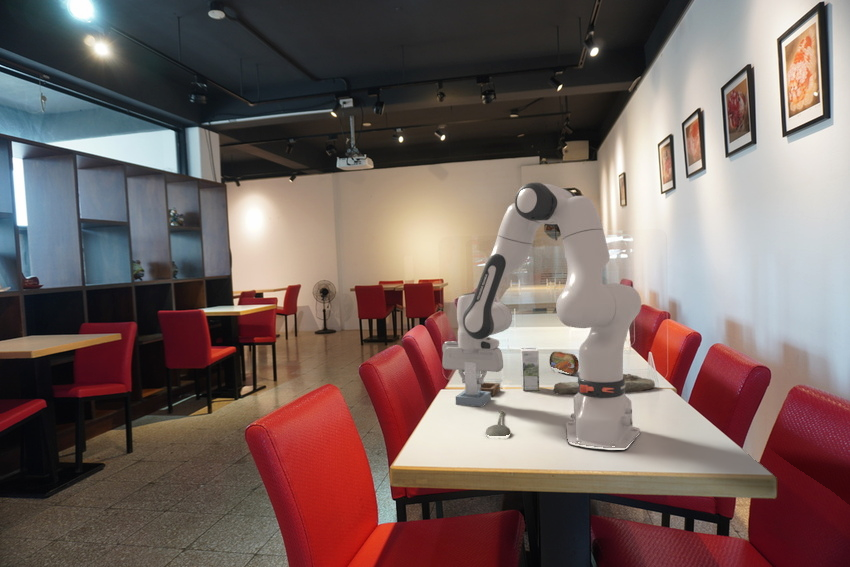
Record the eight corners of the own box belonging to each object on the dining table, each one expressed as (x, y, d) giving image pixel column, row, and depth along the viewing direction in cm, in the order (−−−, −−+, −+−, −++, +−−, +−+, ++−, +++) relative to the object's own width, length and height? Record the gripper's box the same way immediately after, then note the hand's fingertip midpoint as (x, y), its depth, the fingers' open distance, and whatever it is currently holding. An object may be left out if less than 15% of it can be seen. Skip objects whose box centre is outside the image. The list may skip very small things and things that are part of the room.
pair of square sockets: (482, 406, 165) (481, 398, 165) (455, 404, 169) (455, 396, 169) (500, 390, 184) (500, 383, 184) (476, 388, 188) (476, 381, 188)
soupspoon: (484, 443, 136) (509, 445, 135) (484, 431, 136) (510, 433, 134) (491, 415, 157) (513, 416, 156) (491, 404, 157) (513, 405, 156)
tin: (549, 370, 213) (548, 350, 213) (555, 369, 214) (554, 349, 214) (574, 377, 199) (573, 355, 199) (580, 376, 201) (580, 354, 200)
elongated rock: (550, 393, 184) (558, 402, 174) (548, 378, 183) (557, 387, 173) (646, 383, 185) (660, 391, 175) (645, 368, 185) (659, 376, 175)
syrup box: (537, 386, 187) (536, 346, 186) (539, 391, 181) (538, 349, 180) (521, 387, 188) (520, 347, 187) (523, 391, 182) (521, 350, 181)
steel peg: (477, 399, 168) (475, 362, 168) (465, 398, 170) (464, 362, 170) (481, 396, 172) (479, 360, 171) (469, 395, 174) (468, 359, 173)
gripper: (438, 342, 172) (440, 383, 172) (498, 344, 163) (499, 387, 164) (445, 339, 177) (447, 379, 178) (504, 341, 169) (505, 383, 169)
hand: (473, 383), depth 171 cm, fingers closed on steel peg, 4 cm apart
